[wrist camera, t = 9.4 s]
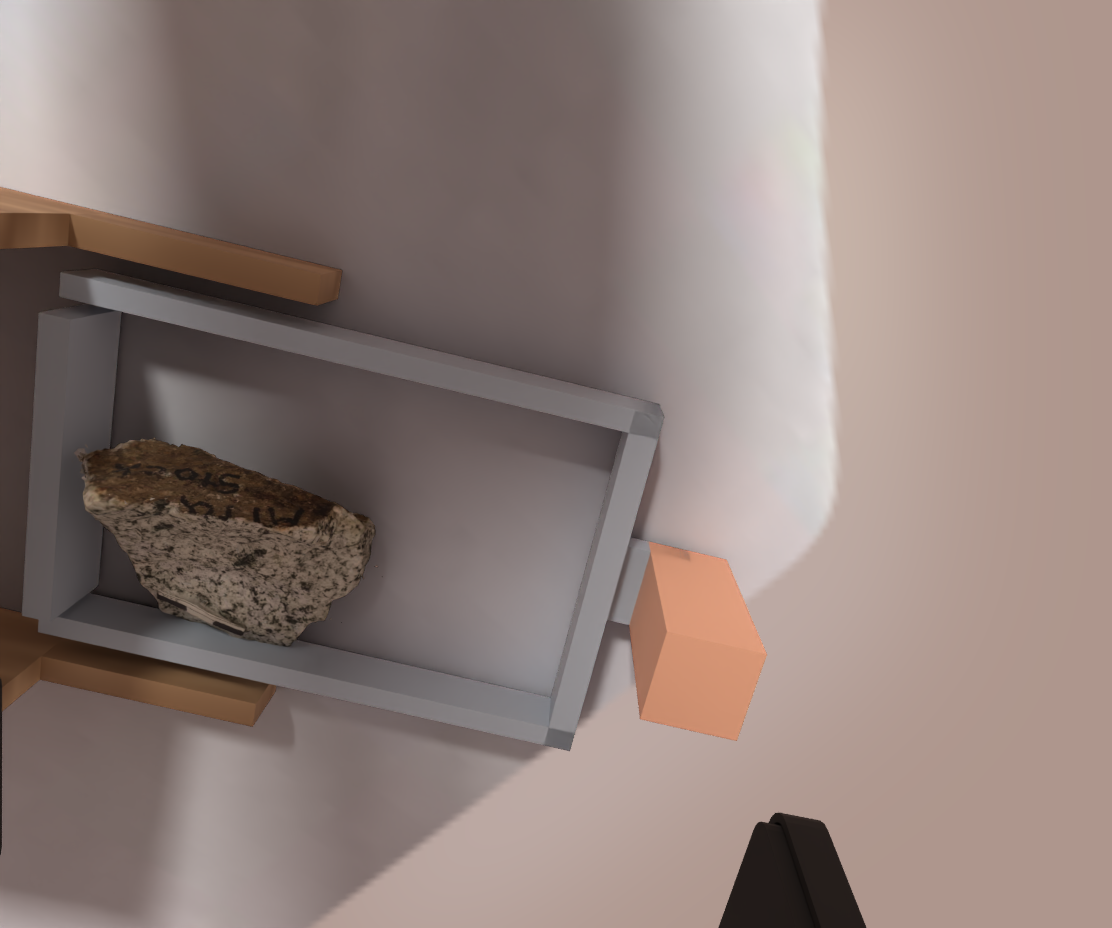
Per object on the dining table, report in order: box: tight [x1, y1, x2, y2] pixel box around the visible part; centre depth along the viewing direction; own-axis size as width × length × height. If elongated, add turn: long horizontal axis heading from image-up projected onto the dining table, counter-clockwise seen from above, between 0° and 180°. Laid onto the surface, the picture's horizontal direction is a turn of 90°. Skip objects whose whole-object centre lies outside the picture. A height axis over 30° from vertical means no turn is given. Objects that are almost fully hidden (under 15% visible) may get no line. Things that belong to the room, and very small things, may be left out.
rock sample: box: [72, 438, 383, 647], centre depth 30 cm, size 10×8×9 cm
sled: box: [22, 269, 767, 751], centre depth 27 cm, size 13×24×7 cm, turn 77°
